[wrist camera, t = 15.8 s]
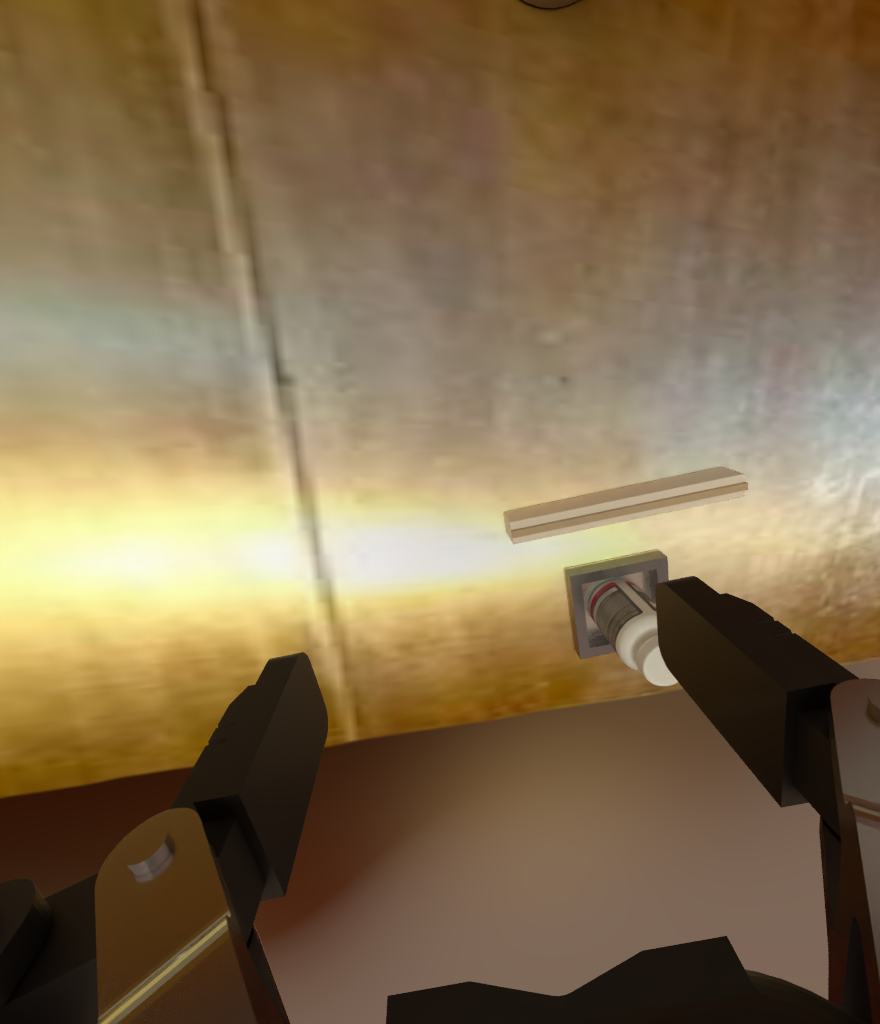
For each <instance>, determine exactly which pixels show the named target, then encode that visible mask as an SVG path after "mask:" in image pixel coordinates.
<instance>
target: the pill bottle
mask: <svg viewBox="0 0 880 1024" xmlns="http://www.w3.org/2000/svg"><path fill="white" fill-rule="evenodd" d="M588 608H589V613H590V616H591V618H592V619H593V621H594V622H595V624H596V625H597V627H598V628H599V629H600V631H601V632H602V633H603V635H604V636H605V638H606V639H607V640H608V642H609V643H610V645H611V646H612V647H613V649H614V650H615V651H616V653H617V654H618V656H619V657H620V658H621V660H622V661H623V662H624V663H625V664H626V665H627V666H629V667H630V668H632V669H635V670H638V671H640V672H641V673H642V674H643V675H644V677H645V678H646V679H647V680H648V681H649V682H651V683H652V684H655V685H658V686H669V685H673V684H675V683H677V682H678V681H677V680H676V679H675V677H674V676H673V675H672V674H671V672H670V671H669V670H668V668H667V667H666V665H665V663H664V661H663V658H662V656H661V653H660V649H659V644H658V631H657V613H656V603H655V602H654V601H653V600H652V599H651V598H650V597H649V596H648V595H647V594H646V593H645V592H644V591H643V590H642V589H640V588H639V587H638V586H637V585H636V584H634V583H633V582H631V581H629V580H626V579H613V580H609V581H606V582H604V583H603V584H601V585H600V586H599V587H598V588H597V589H595V591H594V592H593V593H592V595H591V598H590V600H589V605H588Z"/></svg>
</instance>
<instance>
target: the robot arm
mask: <svg viewBox="0 0 880 1024" xmlns="http://www.w3.org/2000/svg"><path fill="white" fill-rule="evenodd" d="M523 1H525V2H526V3H529V4H532V5H535V6H538V7H544V8H557V7H562V6H567V5H570V4H572V3H574V2H576V1H578V0H523ZM655 596H656V613H657V631H658V644H659V649H660V653H661V656H662V658H663V661H664V663H665V665H666V667H667V668H668V670H669V671H670V672H671V674H672V675H673V676H674V677H675V679H676V680H677V681H678V682H679V683H680V685H681V686H682V687H683V688H684V690H685V691H686V692H687V693H688V694H689V696H690V697H691V698H692V699H693V701H694V702H695V703H696V704H697V705H698V707H699V708H700V709H701V710H702V712H703V713H704V714H705V715H706V716H707V718H708V719H709V720H710V721H711V723H712V724H713V725H714V726H715V727H716V729H717V730H718V731H719V732H720V734H721V735H722V736H723V737H724V738H725V740H726V741H727V742H728V743H729V744H730V746H731V747H732V748H733V749H734V751H735V752H736V753H737V754H738V755H739V757H740V758H741V759H742V760H743V761H744V763H745V764H746V765H747V766H748V768H749V769H750V770H751V771H752V772H753V774H754V775H755V776H756V777H757V779H758V780H759V781H760V782H761V784H762V785H763V786H764V787H765V788H766V790H767V791H768V792H769V793H770V795H771V796H772V797H773V798H774V799H775V801H776V802H777V803H778V804H779V805H780V807H786V806H792V805H797V804H803V803H808V802H809V803H810V804H811V806H812V807H813V808H814V809H815V810H816V811H817V812H818V813H819V814H820V822H819V836H820V849H821V862H822V875H823V888H824V901H825V914H826V926H827V940H828V963H829V964H828V966H829V967H828V969H829V970H828V1000H827V999H825V998H823V997H821V996H819V995H817V994H815V993H813V992H812V991H809V990H807V989H804V988H802V987H800V986H797V985H795V984H792V983H790V982H788V981H785V980H783V979H780V978H776V977H773V976H769V975H766V974H763V973H759V972H755V971H749V970H745V969H744V967H743V966H742V964H741V962H740V960H739V958H738V956H737V954H736V953H735V951H734V949H733V947H732V945H731V944H730V941H729V940H728V938H727V936H724V937H718V938H712V939H707V940H701V941H695V942H690V943H684V944H678V945H673V946H667V947H662V948H656V949H650V950H644V951H641V952H639V953H638V954H636V955H635V956H633V957H631V958H629V959H628V960H626V961H625V962H623V963H621V964H619V965H617V966H616V967H614V968H612V969H611V970H609V971H607V972H605V973H604V974H602V975H600V976H599V977H597V978H595V979H594V980H592V981H590V982H588V983H587V984H585V985H583V986H582V987H580V988H578V989H576V990H575V991H573V992H571V993H569V994H567V995H564V996H550V995H544V994H538V993H533V992H527V991H521V990H515V989H509V988H504V987H498V986H492V985H487V984H481V983H476V982H464V983H458V984H453V985H447V986H441V987H436V988H431V989H424V990H419V991H413V992H408V993H402V994H396V995H391V996H388V999H387V1017H386V1024H880V680H878V679H859V678H858V677H856V676H855V675H854V674H852V673H851V672H849V671H848V670H846V669H845V668H844V667H842V666H841V665H839V664H838V663H837V662H835V661H834V660H832V659H831V658H830V657H828V656H827V655H825V654H824V653H822V652H821V651H820V650H818V649H817V648H815V647H814V646H813V645H811V644H810V643H808V642H807V641H805V640H804V639H803V638H801V637H800V636H798V635H797V634H796V633H794V634H792V633H791V630H790V629H788V628H787V627H786V626H784V625H783V624H781V623H780V622H779V621H774V619H773V617H772V616H770V615H769V614H767V613H766V612H764V611H763V610H762V609H760V608H759V607H757V606H756V605H755V604H753V603H751V602H748V601H745V600H743V599H740V598H738V597H735V596H732V595H730V594H727V593H725V594H719V593H717V592H716V591H715V590H713V589H712V588H711V587H709V586H708V585H707V584H705V583H704V582H703V581H701V580H700V579H699V578H697V577H695V576H690V577H685V578H680V579H675V580H670V581H665V582H660V583H658V584H657V586H656V590H655ZM327 732H328V716H327V710H326V706H325V703H324V700H323V697H322V694H321V691H320V688H319V686H318V683H317V680H316V677H315V674H314V671H313V668H312V665H311V662H310V660H309V658H308V656H307V655H306V654H305V653H304V652H302V653H297V654H292V655H287V656H281V657H276V658H271V659H270V660H269V661H268V662H267V664H266V665H265V667H264V669H263V671H262V673H261V675H260V677H259V679H258V681H257V682H256V684H255V685H251V686H248V687H247V688H246V689H245V690H244V691H243V692H242V693H241V694H240V695H239V696H238V697H237V698H236V699H235V700H234V701H233V702H232V703H231V704H230V705H229V707H228V708H227V710H226V712H225V714H224V715H223V717H222V719H221V721H220V722H219V724H218V728H216V729H215V731H214V733H213V734H212V736H211V738H210V740H209V741H208V742H209V745H208V746H206V747H205V748H204V750H203V752H202V754H201V755H200V757H199V759H198V761H197V762H196V764H195V766H194V768H193V769H192V771H191V773H190V774H189V776H188V778H187V780H186V781H185V783H184V785H183V787H182V788H181V790H180V792H179V794H178V795H177V797H176V799H175V801H174V802H173V804H172V806H171V808H170V810H167V811H165V812H162V813H160V814H158V815H156V816H154V817H152V818H150V819H148V820H147V821H145V822H144V823H142V824H141V825H139V826H138V827H137V828H135V829H134V830H133V831H132V832H131V833H129V834H128V835H127V836H126V837H125V838H124V839H123V840H122V841H121V842H120V843H119V844H118V845H117V847H116V848H115V849H114V850H113V851H112V852H111V854H110V855H109V856H108V858H107V859H106V861H105V863H104V864H103V866H102V868H101V869H100V872H99V873H97V874H95V875H93V876H91V877H89V878H87V879H85V880H83V881H81V882H78V883H76V884H74V885H72V886H70V887H68V888H66V889H64V890H61V891H59V892H57V893H55V894H53V895H51V896H49V897H47V898H43V896H42V895H41V894H40V892H39V890H38V889H37V888H36V886H35V885H34V884H33V882H32V881H30V880H28V879H14V880H10V881H7V882H3V883H1V884H0V1024H290V1021H289V1018H288V1015H287V1013H286V1010H285V1007H284V1004H283V1001H282V999H281V996H280V993H279V990H278V988H277V985H276V982H275V979H274V977H273V974H272V971H271V968H270V966H269V963H268V960H267V957H266V954H265V952H264V949H263V946H262V943H261V941H260V938H259V935H258V932H257V931H256V929H255V926H254V924H253V923H254V920H255V916H256V913H257V910H258V907H259V903H260V901H262V900H267V899H273V898H278V897H284V896H285V895H286V891H287V887H288V884H289V880H290V875H291V872H292V868H293V864H294V861H295V857H296V853H297V849H298V845H299V841H300V837H301V834H302V830H303V826H304V822H305V818H306V814H307V811H308V807H309V803H310V799H311V795H312V791H313V788H314V784H315V780H316V776H317V772H318V768H319V764H320V761H321V757H322V753H323V749H324V745H325V741H326V738H327Z"/></svg>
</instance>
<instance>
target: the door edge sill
mask: <svg viewBox="0 0 880 1024" xmlns="http://www.w3.org/2000/svg"><path fill="white" fill-rule="evenodd" d="M745 490H748V483H747V482H745V474H743V473H740V472H737V471H734V470H730V469H727V468H724V467H718V468H713V469H708V470H704V471H699V472H694V473H689V474H684V475H679V476H675V477H670V478H665V479H660V480H655V481H651V482H646V483H641V484H636V485H631V486H627V487H622V488H617V489H612V490H607V491H603V492H598V493H593V494H588V495H583V496H578V497H574V498H569V499H564V500H559V501H554V502H550V503H545V504H540V505H535V506H530V507H526V508H521V509H516V510H511V511H506V512H503V513H504V519H505V525H506V531H507V534H508V535H509V537H510V539H511V541H512V543H513V544H517V543H521V542H526V541H531V540H536V539H541V538H546V537H551V536H555V535H560V534H565V533H570V532H575V531H580V530H584V529H589V528H594V527H599V526H604V525H609V524H613V523H618V522H623V521H628V520H633V519H638V518H642V517H647V516H652V515H657V514H662V513H667V512H672V511H676V510H681V509H686V508H691V507H696V506H701V505H705V504H710V503H715V502H720V501H725V500H730V499H734V498H739V497H744V496H745Z"/></svg>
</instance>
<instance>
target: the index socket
mask: <svg viewBox="0 0 880 1024" xmlns="http://www.w3.org/2000/svg"><path fill="white" fill-rule="evenodd" d="M564 574H565V582H566V589H567V597H568V605H569V612H570V620H571V627H572V635H573V643H574V649H575V650H576V652H577V654H578V656H579V658H580V659H583V658H588V657H593V656H598V655H603V654H608V653H613V652H616V651H615V650H614V649H613V647H612V646H611V645H610V643H609V642H608V640H607V639H606V638H605V636H604V635H603V633H602V632H601V631H600V629H599V628H598V627H597V625H596V624H595V622H594V621H593V619H592V618H591V616H590V613H589V608H588V605H589V600H590V598H591V595H592V593H593V592H594V591H595V589H597V588H598V587H599V586H600V585H601V584H603V583H604V582H606V581H609V580H613V579H626V580H629V581H631V582H633V583H634V584H636V585H637V586H638V587H639V588H640V589H642V590H643V591H644V592H645V593H646V594H647V595H648V596H649V597H650V598H651V599H652V600H653V601H654V602H655V603H656V596H655V590H656V586H657V584H658V583H660V582H665V581H669V580H668V561H667V556H666V555H664V554H663V553H662V552H660V551H659V550H657V549H656V550H651V551H646V552H642V553H637V554H632V555H627V556H622V557H617V558H612V559H607V560H603V561H598V562H593V563H588V564H583V565H578V566H573V567H568V568H564Z"/></svg>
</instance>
